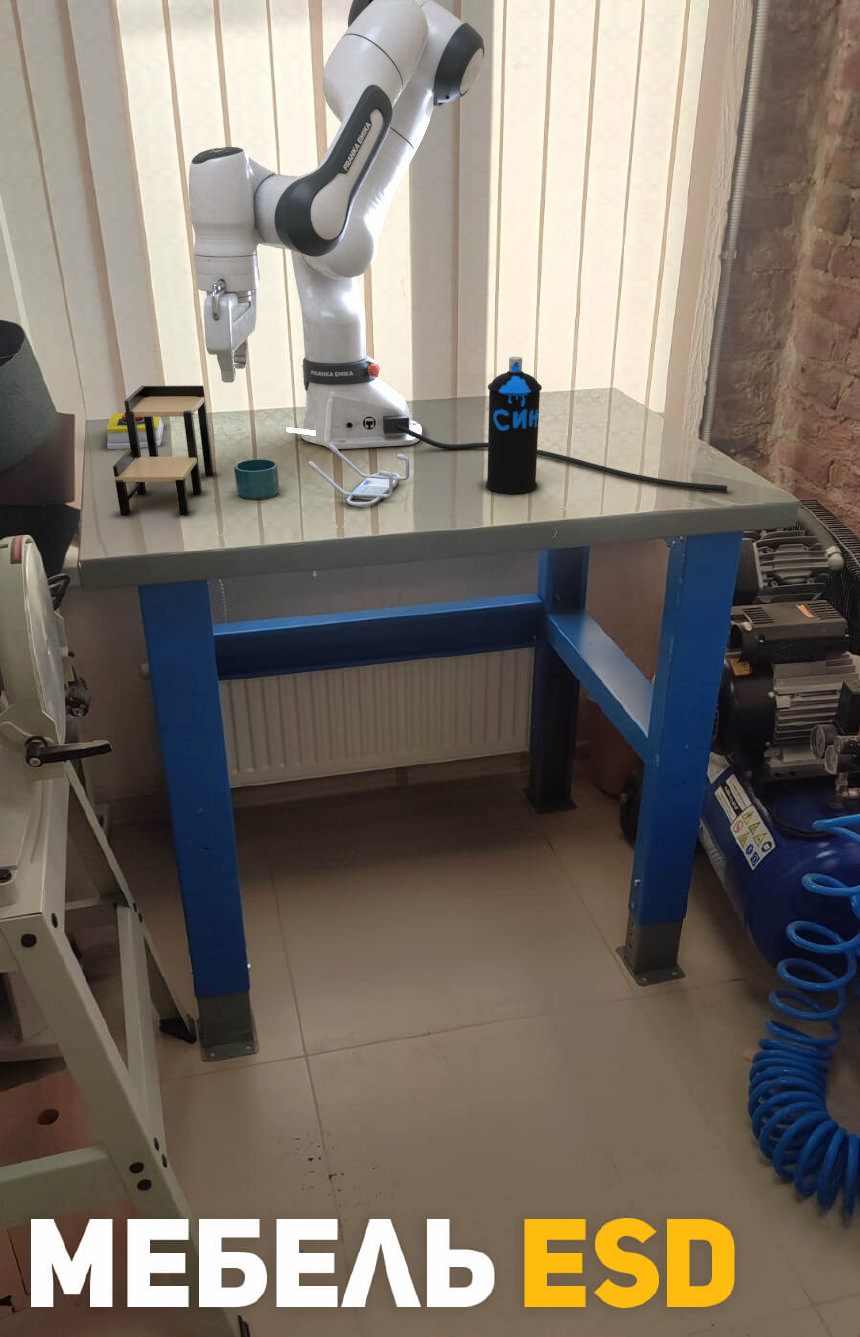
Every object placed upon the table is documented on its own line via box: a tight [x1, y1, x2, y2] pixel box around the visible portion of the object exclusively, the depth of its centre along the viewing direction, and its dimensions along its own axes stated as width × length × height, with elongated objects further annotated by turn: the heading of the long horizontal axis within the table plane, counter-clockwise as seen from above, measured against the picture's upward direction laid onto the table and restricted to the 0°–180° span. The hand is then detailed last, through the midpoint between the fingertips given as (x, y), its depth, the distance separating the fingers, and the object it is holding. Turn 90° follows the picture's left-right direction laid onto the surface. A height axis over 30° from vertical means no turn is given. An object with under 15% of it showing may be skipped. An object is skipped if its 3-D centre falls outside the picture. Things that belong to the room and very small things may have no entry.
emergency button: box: [106, 413, 164, 450], centre depth 186 cm, size 9×4×15 cm
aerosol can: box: [485, 356, 543, 495], centre depth 155 cm, size 8×8×20 cm
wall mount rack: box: [307, 444, 410, 507], centre depth 157 cm, size 16×14×6 cm
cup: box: [233, 458, 281, 501], centre depth 156 cm, size 7×7×5 cm
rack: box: [112, 385, 215, 517], centre depth 154 cm, size 10×20×15 cm, turn 0°
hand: (235, 374), depth 149 cm, fingers open, 8 cm apart
